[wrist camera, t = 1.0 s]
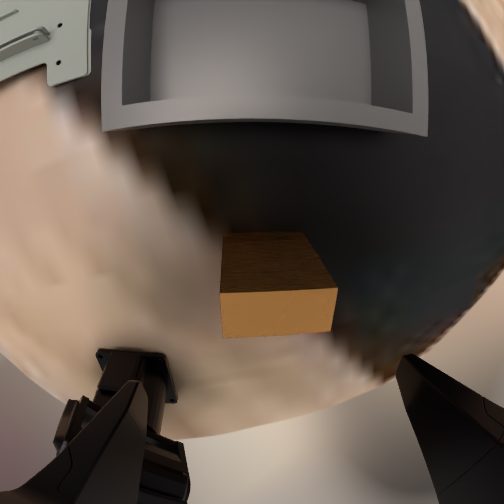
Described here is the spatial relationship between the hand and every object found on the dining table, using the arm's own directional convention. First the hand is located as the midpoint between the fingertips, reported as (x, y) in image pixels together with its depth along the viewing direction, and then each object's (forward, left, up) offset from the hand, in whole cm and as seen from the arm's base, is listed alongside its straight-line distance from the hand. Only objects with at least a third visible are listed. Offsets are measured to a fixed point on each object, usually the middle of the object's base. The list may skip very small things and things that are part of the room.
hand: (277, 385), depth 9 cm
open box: (+13, -1, -11) cm, 17 cm away
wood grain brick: (-2, -1, -11) cm, 11 cm away
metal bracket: (+19, +17, -12) cm, 28 cm away
